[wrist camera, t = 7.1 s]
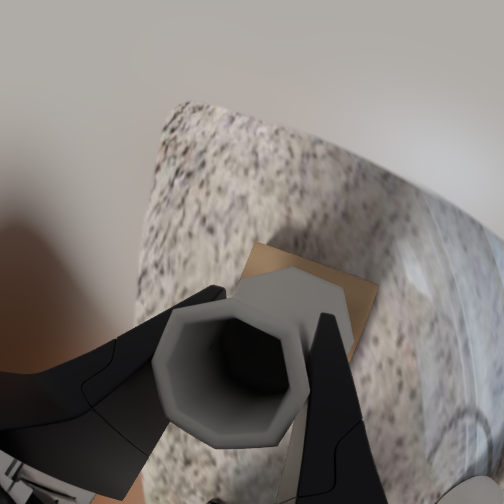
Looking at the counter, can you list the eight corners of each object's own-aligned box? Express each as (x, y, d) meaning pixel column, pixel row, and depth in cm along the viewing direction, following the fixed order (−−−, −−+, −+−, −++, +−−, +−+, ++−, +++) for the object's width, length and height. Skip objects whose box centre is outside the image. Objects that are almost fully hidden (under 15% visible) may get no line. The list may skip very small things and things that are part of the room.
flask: (228, 261, 16) (108, 195, 6) (360, 272, 14) (430, 205, 4) (213, 385, 15) (90, 456, 5) (342, 404, 13) (364, 530, 3)
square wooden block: (326, 396, 19) (327, 409, 16) (222, 353, 22) (208, 359, 19) (370, 288, 20) (379, 285, 17) (263, 249, 22) (255, 240, 20)
